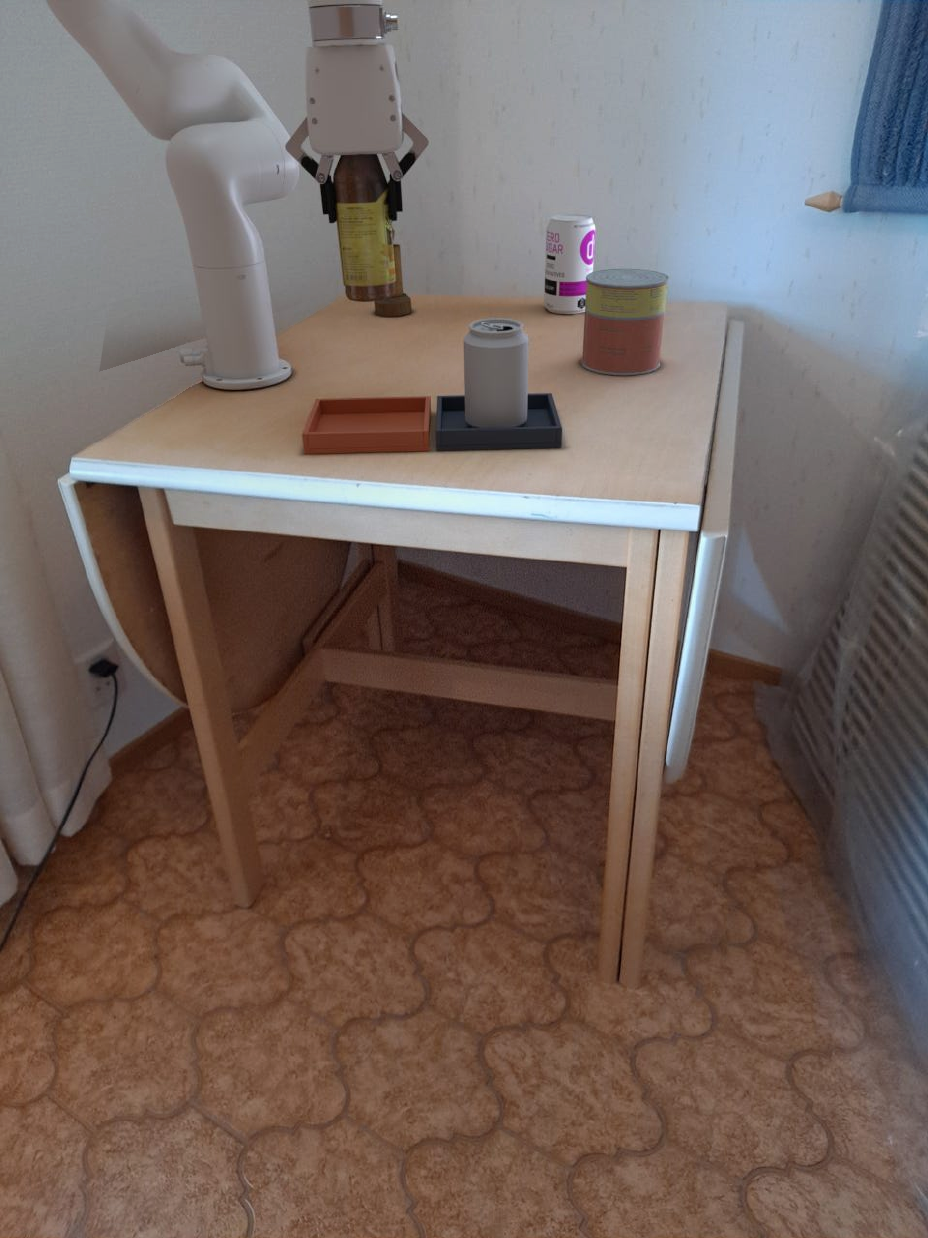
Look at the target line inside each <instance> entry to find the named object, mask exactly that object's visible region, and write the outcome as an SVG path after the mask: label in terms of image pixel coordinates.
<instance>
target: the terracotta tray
mask: <svg viewBox="0 0 928 1238" xmlns="http://www.w3.org/2000/svg"><path fill="white" fill-rule="evenodd" d="M431 398H432V397H431V395H426V396H425V395H421V396H419V395H417V396H385V397H384V396H382V397H381V396H378V397H377V396H376V397H375V396H374V397H345V398H344V397H337V398H335V397H333V398H316V399H315V401H314V403H313V405H312V408H311V411H310V413H309V416H308V418H307V421H306V423H305V426H304V428H303V430H302V433H301V437H302V438H301V439H302V445H303V453H304V455H314V454H315V455H316V454H318V455H320V454H355V453H356V454H360V453H361V454H362V453H395V452H396V453H397V452H399V453H400V452H430V447H431V444H430V443H431V429H432V428H431V427H432V399H431Z"/></svg>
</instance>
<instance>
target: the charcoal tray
mask: <svg viewBox="0 0 928 1238" xmlns="http://www.w3.org/2000/svg"><path fill="white" fill-rule="evenodd" d="M435 410H436V411H435V413H436V414H435V449H436V451H440V452H441V451H473V450H475V451H477V450H478V451H479V450H480V451H481V450H514V449H515V450H517V449H518V450H519V449H557V448H558V449H559V448H562V445H563V443H562V441H563V427H562V423H561V419H560V415H559V413H558V410H557V407H556V403H555V399H554V396H553V393H552V392H540V393H539V392H537V393H528V401H527V420H526V421H525V423H523V424H522V425H521V426H520V427H504V428H473V427H472V426H471V425H470V424H468V423H467V422H466V420H465V394H461V395H460V394H459V395H457V394H456V395H454V394H453V395H437V396H436V409H435Z"/></svg>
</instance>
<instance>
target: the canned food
mask: <svg viewBox="0 0 928 1238" xmlns="http://www.w3.org/2000/svg"><path fill="white" fill-rule="evenodd" d="M586 280H587V282H586V300H585V312H584V320H583V340H582V356H581V357H582V358H581V365H582V367H583V368H584V369H586V370H588V371H590V372H594V373H598V374H601V375H608V376H609V375H610V376H622V377H623V376H637V375H644V374H649V373H653V372H655V371H657V370H658V369H659V368H660V366H661V361H660V360H661V351H662V341H663V332H664V322H665V321H664V320H665V314H666V313H665V311H666V304H667V303H666V302H667V293H668V283H669V280H670V277H669V276H668V275H667V274H665V273H663V272H659V271H655V270H651V269H641V268H610V269H601V270H596V271H593V272H592V273H590V274H588V275H587V276H586Z"/></svg>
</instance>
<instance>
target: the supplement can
mask: <svg viewBox="0 0 928 1238" xmlns="http://www.w3.org/2000/svg"><path fill="white" fill-rule="evenodd" d="M545 229H546V233H545V234H546V235H545V264H544V265H545V266H544V267H545V268H544V295H543V296H544V297H543V306H544V307H545V308H546V309H547V311H548V312H549V313H553V314H558V315H577V314H582V313H585V300H586V282H587V280H586V276H587V275H588V274H590V273H592V272H594V257H595V241H596V225H595V222H594V220H593V216H591V215H588V214H580V213H579V214H578V213H577V214H576V213H573V214H571V213H569V214H567V213H565V214H557V215H552V216H550V220H549V222H548V223H547V226H546V228H545Z"/></svg>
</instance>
